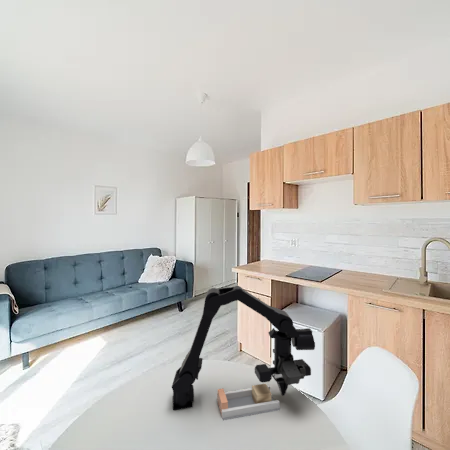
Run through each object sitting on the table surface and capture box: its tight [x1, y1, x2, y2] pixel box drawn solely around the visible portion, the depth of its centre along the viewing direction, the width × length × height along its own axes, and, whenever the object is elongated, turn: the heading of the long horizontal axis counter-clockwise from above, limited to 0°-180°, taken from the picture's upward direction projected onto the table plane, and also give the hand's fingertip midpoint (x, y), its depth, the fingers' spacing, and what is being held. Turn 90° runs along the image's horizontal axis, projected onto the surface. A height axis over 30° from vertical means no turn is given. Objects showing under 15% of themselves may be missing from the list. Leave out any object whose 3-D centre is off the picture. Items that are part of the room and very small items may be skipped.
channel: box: [216, 384, 281, 421], centre depth 80 cm, size 19×10×5 cm, turn 103°
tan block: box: [251, 383, 272, 404], centre depth 81 cm, size 5×5×4 cm
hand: (282, 394), depth 83 cm, fingers closed
